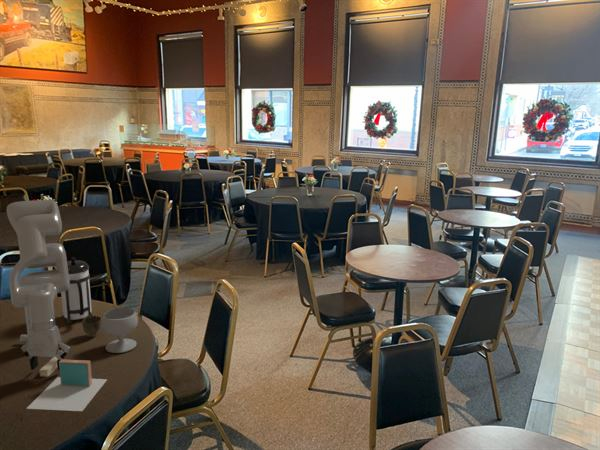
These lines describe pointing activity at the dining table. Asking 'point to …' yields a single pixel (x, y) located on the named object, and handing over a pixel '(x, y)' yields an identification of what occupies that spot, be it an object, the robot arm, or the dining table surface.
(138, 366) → the dining table surface
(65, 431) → the dining table surface
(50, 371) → the turner
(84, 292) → the coffee press
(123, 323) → the chalice
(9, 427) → the dining table surface
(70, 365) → the tile
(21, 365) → the dining table surface
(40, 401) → the tile board
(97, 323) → the cup
